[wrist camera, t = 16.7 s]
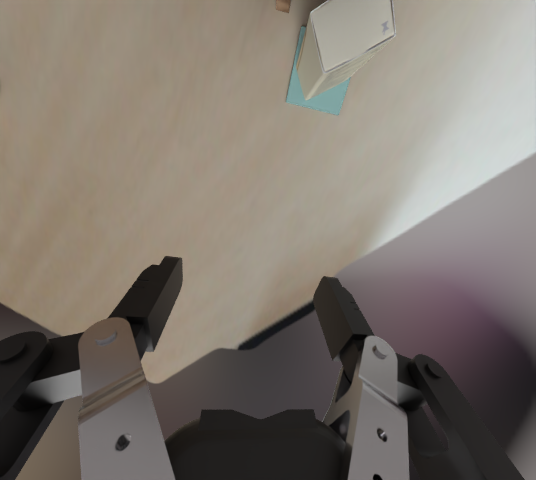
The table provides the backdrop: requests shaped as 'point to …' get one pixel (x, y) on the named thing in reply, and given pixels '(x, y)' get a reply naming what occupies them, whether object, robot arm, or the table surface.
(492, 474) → the robot arm
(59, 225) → the table surface
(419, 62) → the table surface
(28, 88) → the table surface
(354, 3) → the skincare box
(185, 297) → the table surface
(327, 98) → the mat
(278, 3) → the wooden square frame
